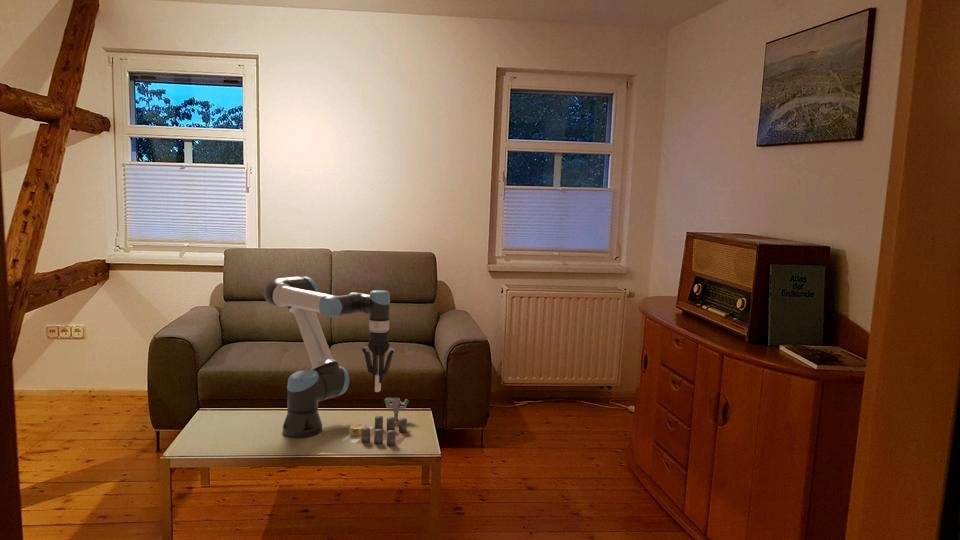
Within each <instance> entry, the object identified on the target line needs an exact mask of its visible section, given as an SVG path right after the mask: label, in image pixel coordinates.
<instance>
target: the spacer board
mask: <svg viewBox="0 0 960 540" xmlns="http://www.w3.org/2000/svg"><path fill="white" fill-rule="evenodd" d="M395 427H396V421H395V418H394V416H388V417H386V427H384V417H383V416H382V415H376V416H374V426H367V425H366V427H365V428H362V436H361V437H360V436H356V437H354V436H351V435H349V434H348V435H347V436H345V438H343V439H342V440H341V442H343V443H353V444H363V445H372V446H381V447H392V448H398V447H399V446H400V445H401V444H402V442H403V441H404V440H405V439H406V438H407V437H408V436H409V434H411V432H412V430H407V429H408V419H407V418H405V417H400V418H398V429H397V428H395Z"/></svg>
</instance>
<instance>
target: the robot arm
mask: <svg viewBox="0 0 960 540" xmlns="http://www.w3.org/2000/svg"><path fill="white" fill-rule="evenodd" d="M390 294H391V293H390V292H389V291H388V290H381V289H373V290H371V291H369V294H368V293H362V292H355V291H353V292H350V293H348V294H344V295H333V294H329V293H323V292H319V290H318V286H317V284H316V282H315V281H314V280H313V279H312V278H311V277H309V276H305V275H304V276H303V275H297V276H287V277H286V276H285V277H277V278H274V279H272V280H269V282H267V283H266V285H265V286H264V289H263V297H264V300H265V301H266V302H267V303H268V304H269V305H270V306H274V307H279V308H284V307H287V309H288V311H289V312H290V313H292V314H293V315H294V318H295V319H296V323H297V326H298V329H299V331H300V335H301V337H302V340H303V343H304V345H305V348H306V349H305V350H306V351H307V355H308V357H309V360H310V363H311V368H310V369H305V370H304V369H303V370H299V371H295V372H294V373H292V374H291V375H289V377H288V379H287V385H286V389H287V390H286V391H287V407H286V408H287V414H286V416H285V418H284V422H283V424H282V434H283V435H284V436H286V437H288V438H289V437H291V438H295V439H296V438H300V439H301V438H309V437H313V436H317V435H319V434H320V433H321V432H322V431H323V422H322V419H321V416H320V413H319V402H322V401H326V400H327V399H328V400H329V399H332V398H337V397H339V396H342V395H344V393H346V392H347V390H348V388H349V385H350V376H349V372H348V370H347V369H346V368H345V367H344V366H340V365H339V362H338V360H336V359H334V358H333V357H332V356H333V355H332V354H331V351H330V348H329V345H328V343H327V340H326V336H325V334H324V332H323V329H322V326H321V323H320V320H319V318H318V314H317V313H319V314H321V316H323V317H324V318H335V317H340V316H347V315H348V316H349V315H353V314H355V315H356V314H367V315H369V322H368V323H369V326H368V327H369V328H368V329H369V332H368V335H369V336H368V343H367V346H364V347H362V349H361V350H362V352H363V354H364V357H365V358H364V359H365V362H366V368H367V372H368V373H370V374H372V383H374V392H375V393H379V392H381V390H382V383H384V377H385V376H384V375H387V374H388V373H389V370H390V368H391V367H390V366H391V363H392V360H393V355H394V354H395V353H396V349H394V348H392V347H391V345H390V331H389V330H390V310H391V307H390V306H391V298H390V297H391V295H390ZM370 352H371V353H372V354H371V353H370ZM386 353H388V355H387V357H386V361H385V355H386ZM371 355H372V357H371Z"/></svg>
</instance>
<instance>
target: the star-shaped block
mask: <svg viewBox="0 0 960 540" xmlns="http://www.w3.org/2000/svg"><path fill="white" fill-rule="evenodd" d="M366 426H367V424H362V423H354V424H350V425H349V429H348V430H349V434H348V435H351V436H354V437H356V436H360V437H361V436H362V428H365V427H366Z"/></svg>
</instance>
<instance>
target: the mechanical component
mask: <svg viewBox="0 0 960 540" xmlns="http://www.w3.org/2000/svg"><path fill="white" fill-rule="evenodd" d="M409 401H410V400H409V399H407V398H406V399H404V401H401V398H399V397H386V398H384V399H383V404H385V407H386V409H389V410H390V409H393V410H392V412H393V415H394V416H393V417H394V418H395V422H396V421H399V412H400V410H405V409H406V408H407V405H408V404H409ZM390 402H391V403H390Z"/></svg>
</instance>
